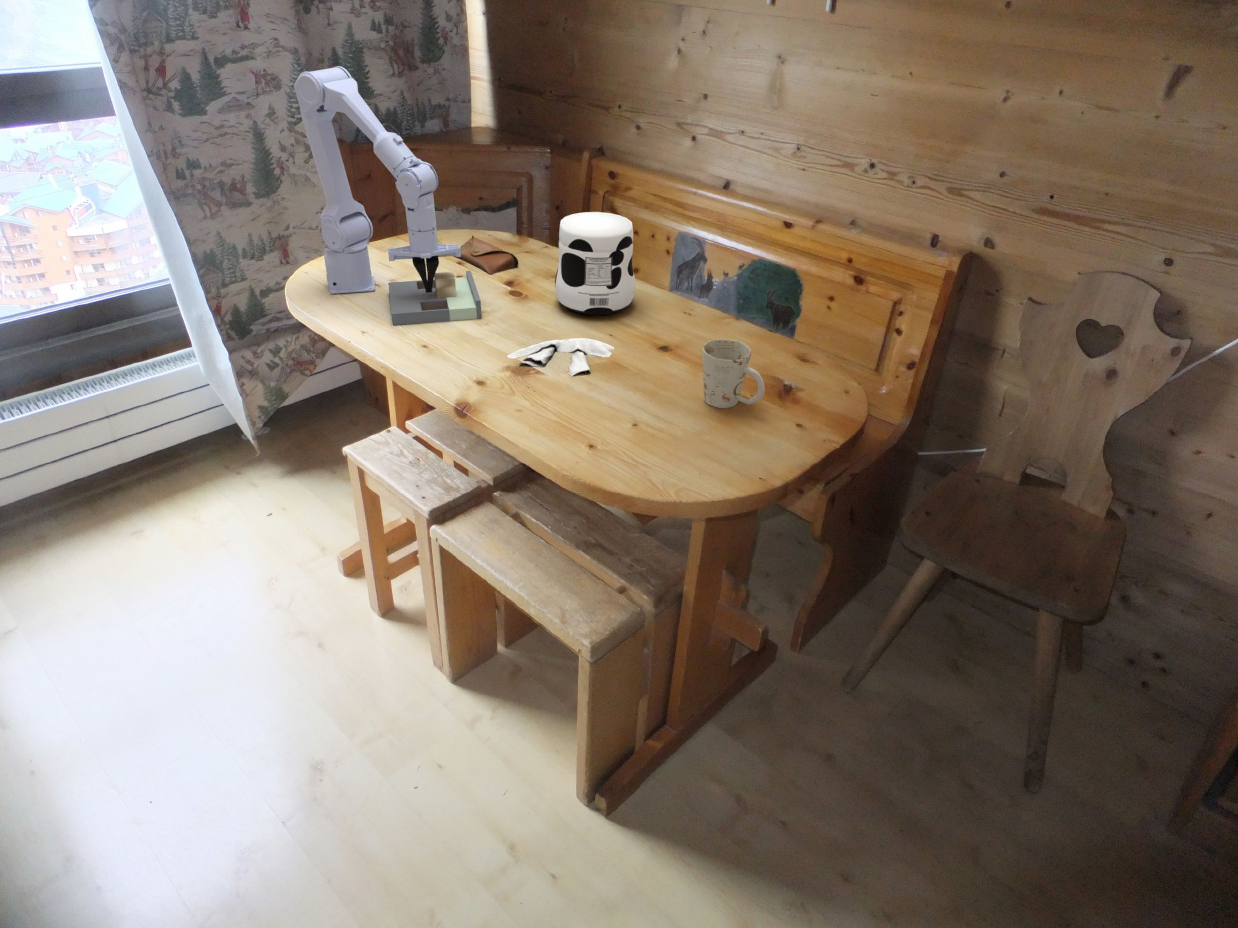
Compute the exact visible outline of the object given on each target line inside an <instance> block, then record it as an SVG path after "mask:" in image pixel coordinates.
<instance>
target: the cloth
mask: <svg viewBox="0 0 1238 928" xmlns="http://www.w3.org/2000/svg"><path fill="white" fill-rule="evenodd" d="M555 349H556V352H559V353H568V354H569V353H570V354H571V353H572V355H571V356H570V359H569V360H570V361H569V365H568V367H567V370H568V371H567V372H568V375H569V376H570V377H574V375H584V374H592V371H591V368H590V365H589V363H588V362H589V361H588V360H587V358H586V356H585V354H586V355H587V356H594V357H597V358H599V357H600V358H610V357H611V356H612V352H611V350H612V351H613V350H615V347H614V346H612V345H610V344H608V343H606V342H603V341H600V340H597V339H592V338H583V337H581V338H580V337H579V338H577V337H576V338H571V337H570V338H568V339H553V340H546V341H542V342H540V343H537V344H532V345H529V346H527V347H524V348H523V347H522V348H520V349H518V350H515V351H513V352H512V353H509V354H507V355H505V357H506V358H507V359H510V360H511V359H518V358H522V357H524V358H523V359H522V362H520V363H519V364H518V365H517V367H521V366H523V365H525V364H527V365H529V366H532V367H534V368H543V366H544V365H545V364H546V363H548V362H549V359H550V358H551V357H552V356H553V355H554V354H555ZM584 353H585V354H584ZM527 359H530V360H528V361H526V360H527Z"/></svg>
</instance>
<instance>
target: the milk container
mask: <svg viewBox="0 0 1238 928" xmlns="http://www.w3.org/2000/svg"><path fill="white" fill-rule="evenodd" d="M559 223H560V224H559V232H558V238H559V240H558V266H557V269H556V274H555V277H554V278H555V279H554V289H555V294H556V298H557V300H558V301H559V303H560V304H561V305H562V306H564V308H567V309H569V310H570V311H572V312H575V313H580V314H584V315H608V314H613V313H617V312H620V311H622V310H623V309H626V308H627V307H629V306H630V304H631V303H632V301H633V299H634V295H635V292H636V277H635V273H634V269H633V254H634V253H633V252H634V244H633V243H634V228H633V222H632V221H631V220H630V219H628V217H625V216H622V215H620V214H615V213H610V212H602V211H591V212H590V211H585V212H584V211H583V212H578V213H577V212H576V213H573V214H568V215H566V216H564V217H563V218H562V219H561V220H560V222H559Z"/></svg>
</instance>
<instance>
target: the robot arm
mask: <svg viewBox="0 0 1238 928" xmlns="http://www.w3.org/2000/svg"><path fill="white" fill-rule="evenodd" d="M293 88H294V92H295V94H296V98H297V102H298V105H299V109H300V117H301V120H302V123H303V127H304V130H305V134H306V137H307V141H308V143H309V147H310V150H311V154H312V157H313V161H314V164H315V168H316V171H317V174H318V178H319V181H320V184H321V188H322V192H323V195H324V198H325V201H326V204H325V207H324V208H323V211H322V212H321V213H320V216H319V218H320V222H321V235H322V236H321V237H322V239H323V241H324V243H325V244H326V245H327V248H326V247H325V248H323V256H324V257H323V258H324V264H325V265H324V266H325V271H326V282H327V283H328V287H329V293H330V294H331V295H334V294H348V293H349V294H350V293H362V292H375V290H376V285H375V283H376V282H375V276H373V275H372V269H371V262H370V255H369V248H368V245H370V240H371V238H372V236H373V233H374V226H373V224H372V221H371V219H370V217H369V216H368V215H367V213H366V209H365V206H364V204H362V203H360V202H358V201H357V200H356V199H354V197H353V194H352V191H351V190H352V189H351V186H350V183H349V180H348V179H349V178H348V176H347V172H346V168H345V164H344V161H343V158H342V153H341V149H340V147H339V146H340V145H339V143H338V139H337V136H336V134H335V133H336V132H335V127H334V125H333V121H332V120H333V118H334V117H335V115H336V113H342V114H344V115H346V117H348V119H349V120H351V122H352V123H354V125H356V127H357V128H358V129H359V130H360V131H361V132H362V133H363V134H364V135H365V136H366V137H367V138H368V139H369V140H370V142H372V143H373V153H374V155H376V157H377V158H378V159H379V160H380V162H381V163H382V164H383V165H384V166H385V167H386V169H387V170H388V171H389V173H391V175H392V176H393V177H394V178H395V180H396V181H395V187H396V189H397V191H398V193H399V194H400V196H401V200H402V204H403V206H404V207H405V217H406V225H407V234H408V235H407V236H408V244H409V245H407V246H406V245H404V246H401V247H400V246H399V247H396V248H394V247H393V248H387V254H388V261H389V262H394V261H396V260H412V264H413V268H415V270H416V271H417V273H418V275H419V277H420V278H421V280H422V281H423V284H424V287H425V291H426V293H429V292H432V285H433V280H434V276H435V273H437V269H438V268H439V263H440V259H439V258H443V257H444V258H445V257H448V258H449V257H454V256H456V257H455V258H457V257H461V249H460V247H461V246H460V244H442V243H441V244H439V239H438V229H437V219H436V218H437V217H436V208H435V199H434V192H435V191H436V190H437V189H438V186H439V176H438V174H437V172H436V170H435V168H434V167H433V165H432V164H431V163H429V162H426V161H422V160H421V158H418V157H417V156H416V155H415V154H414V153H413V152H412V151H411V150H410V148H409V147H408V146H407V145H406V143H404V139H403V138H402V137H401V136H400V135H398V134H397V133H395V132H390V131H387V130H386V128H385V127H384V126H383V125H382V123H381V121H380V120H379V119H378V118H377V116H376V115H375V114H374V112H373V111H372V109H371V108H370V107H369V105H368V104H367V103H366V101H365V100H364V99H363V97H362V95H361V94H360V93H359V85H358V82H357V81H356V80H355V79H354V78H353V77H352V76H351V74H350V71H348V70H347V69H346V68H344V67H343V66H340V65H337V66H333V67H330V68H324V69H319V70H311V71H303V72H301V73H300V74H299V75H298V77H297V79H296V81H295V83H294V85H293ZM427 281H428V282H427Z"/></svg>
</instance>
